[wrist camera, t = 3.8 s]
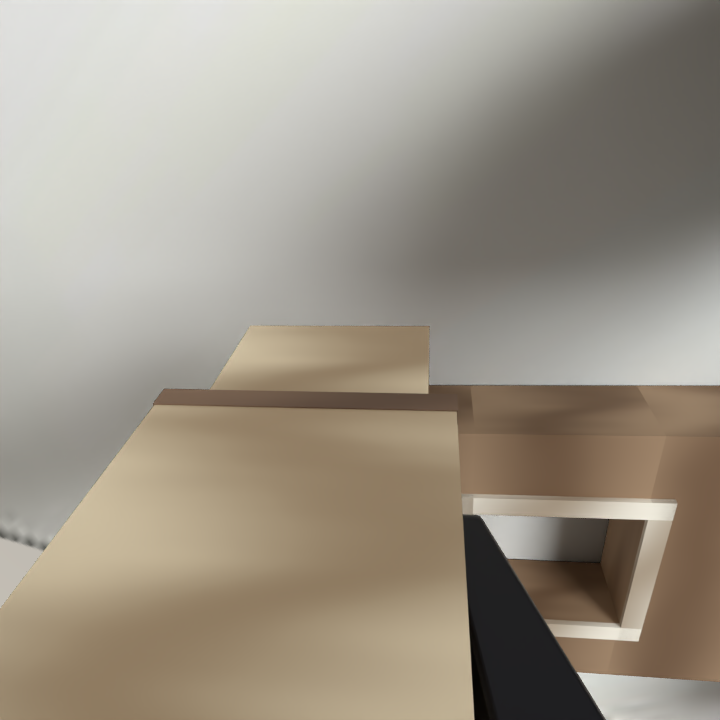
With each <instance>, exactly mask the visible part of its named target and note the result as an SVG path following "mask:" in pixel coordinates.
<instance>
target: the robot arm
mask: <svg viewBox="0 0 720 720" xmlns="http://www.w3.org/2000/svg"><path fill="white" fill-rule="evenodd" d="M463 530H464V547H465V565H466V582H467V600H468V617H469V635H470V652H471V669H472V687H473V704H474V720H606V719H605V718H604V716H603V714H602V713H601V711H600V709H599V708H598V706H597V705H596V703H595V701H594V700H593V698H592V696H591V695H590V693H589V692H588V690H587V688H586V687H585V685H584V683H583V682H582V680H581V679H580V677H579V675H578V674H577V672H576V670H575V669H574V667H573V666H572V664H571V662H570V661H569V659H568V657H567V656H566V654H565V653H564V651H563V649H562V648H561V646H560V644H559V643H558V641H557V640H556V638H555V636H554V635H553V633H552V631H551V630H550V628H549V627H548V625H547V623H546V622H545V620H544V618H543V617H542V615H541V614H540V612H539V610H538V609H537V607H536V605H535V604H534V602H533V600H532V599H531V597H530V596H529V594H528V592H527V591H526V589H525V587H524V586H523V584H522V583H521V581H520V579H519V578H518V576H517V574H516V573H515V571H514V570H513V568H512V566H511V565H510V563H509V561H508V560H507V558H506V557H505V555H504V553H503V552H502V550H501V548H500V547H499V545H498V544H497V542H496V540H495V539H494V537H493V535H492V534H491V532H490V531H489V529H488V527H487V526H486V524H485V522H484V521H483V519H482V518H481V517H480V516H478V515H469V514H463Z"/></svg>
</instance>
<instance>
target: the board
mask: <svg viewBox="0 0 720 720" xmlns="http://www.w3.org/2000/svg"><path fill="white" fill-rule="evenodd" d="M429 394H457V399H458V443H459V460H460V478H461V495H462V513H463V514H469V515H473V514H477V515H508V516H539V517H571V518H602V519H609V524H608V529H607V534H606V539H605V543H604V548H603V553H602V558H601V563H585V562H561V561H538V560H514V559H507V560H508V561H509V563H510V565H511V566H512V568H513V570H514V571H515V573H516V574H517V576H518V578H519V579H520V581H521V583H522V584H523V586H524V587H525V589H526V591H527V592H528V594H529V596H530V597H531V599H532V600H533V602H534V604H535V605H536V607H537V609H538V610H539V612H540V614H541V615H542V617H543V618H544V620H545V622H546V623H547V625H548V627H549V628H550V630H551V631H552V633H553V635H554V636H555V638H556V640H557V641H558V643H559V644H560V646H561V648H562V649H563V651H564V653H565V654H566V656H567V657H568V659H569V661H570V662H571V664H572V666H573V667H574V669H575V670H576V672H583V673H597V674H612V675H627V676H641V677H656V678H670V679H685V680H700V681H714V682H720V386H463V385H429Z"/></svg>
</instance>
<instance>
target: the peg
mask: <svg viewBox="0 0 720 720" xmlns="http://www.w3.org/2000/svg"><path fill="white" fill-rule="evenodd" d="M0 720H474V704H473V687H472V669H471V652H470V635H469V617H468V600H467V582H466V565H465V547H464V530H463V513H462V495H461V478H460V460H459V443H458V399H457V394H429V326H250V327H249V328H248V330H247V332H246V333H245V335H244V336H243V338H242V339H241V341H240V343H239V344H238V346H237V347H236V349H235V351H234V352H233V354H232V355H231V357H230V358H229V360H228V362H227V363H226V365H225V366H224V368H223V369H222V371H221V373H220V374H219V376H218V377H217V379H216V381H215V382H214V384H213V385H212V387H211V388H210V390H202V389H164V390H163V391H162V392H161V394H160V395H159V396H158V397H157V399H156V400H155V401H154V403H153V407H152V409H151V410H150V411H149V413H148V414H147V415H146V417H145V418H144V419H143V420H142V422H141V423H140V424H139V426H138V427H137V428H136V430H135V431H134V432H133V434H132V435H131V436H130V438H129V439H128V440H127V442H126V443H125V444H124V446H123V447H122V448H121V450H120V451H119V452H118V454H117V455H116V456H115V457H114V459H113V460H112V461H111V463H110V464H109V465H108V467H107V468H106V469H105V471H104V472H103V473H102V475H101V476H100V477H99V479H98V480H97V481H96V483H95V484H94V485H93V487H92V488H91V489H90V491H89V492H88V493H87V494H86V496H85V497H84V498H83V500H82V501H81V502H80V504H79V505H78V506H77V508H76V509H75V510H74V512H73V513H72V514H71V516H70V517H69V518H68V520H67V521H66V522H65V524H64V525H63V526H62V528H61V529H60V530H59V531H58V533H57V534H56V535H55V537H54V538H53V539H52V541H51V542H50V543H49V545H48V546H47V547H46V549H45V550H44V551H43V553H42V554H41V555H40V557H39V558H38V559H37V561H36V562H35V563H34V565H33V566H32V567H31V569H30V570H29V571H28V573H27V574H26V575H25V577H24V578H23V579H22V581H21V582H20V583H19V584H18V586H17V587H16V588H15V590H14V591H13V592H12V594H11V595H10V596H9V598H8V599H7V600H6V602H5V603H4V604H3V605H2V607H1V608H0Z"/></svg>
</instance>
